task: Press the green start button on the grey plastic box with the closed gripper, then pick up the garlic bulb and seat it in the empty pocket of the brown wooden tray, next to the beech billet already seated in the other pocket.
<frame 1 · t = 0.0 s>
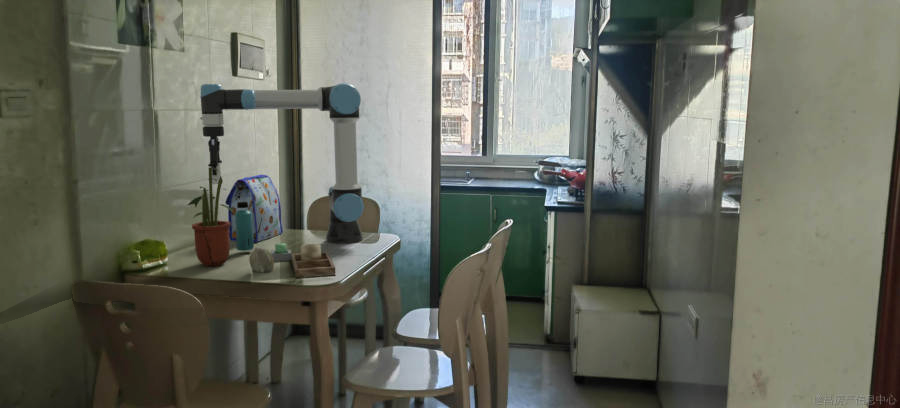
hand: (216, 182, 263), 28 cm above the table, fingers open, 13 cm apart
start button: (281, 249, 254), point 4 cm above the table, slide at 0.0 cm
lunch bag: (256, 238, 301), on the table
button box: (281, 261, 254), on the table
beverage bottle: (245, 253, 270), on the table
brown wooden tray: (312, 269, 242), on the table
beech billet: (311, 262, 247), point 1 cm above the table, touching brown wooden tray
potted plant: (215, 266, 248), on the table
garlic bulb: (262, 273, 237), on the table
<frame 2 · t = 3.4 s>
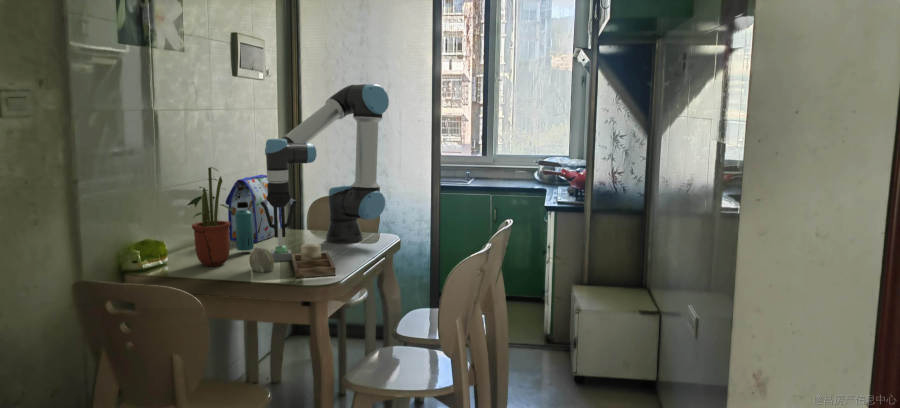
hand: (280, 246, 253), 6 cm above the table, fingers closed
start button: (281, 252, 254), point 3 cm above the table, slide at 0.8 cm, touching gripper
everything else where it was.
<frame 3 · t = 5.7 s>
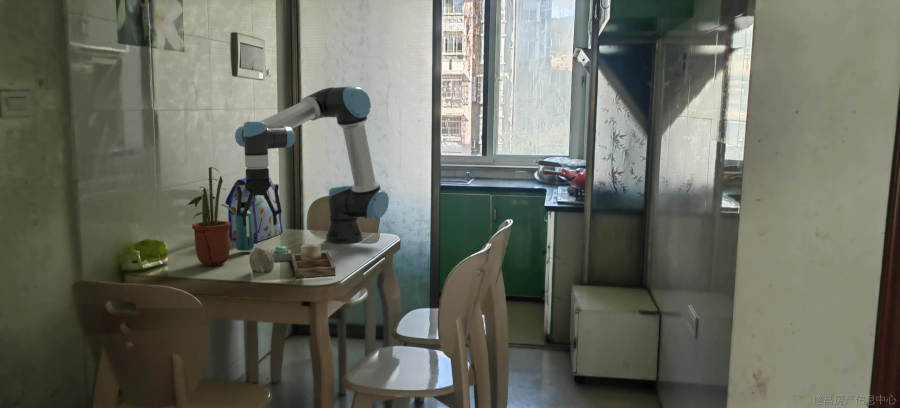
hand: (260, 234, 235), 13 cm above the table, fingers open, 7 cm apart
start button: (281, 252, 254), point 3 cm above the table, slide at 1.0 cm
everything else where it was.
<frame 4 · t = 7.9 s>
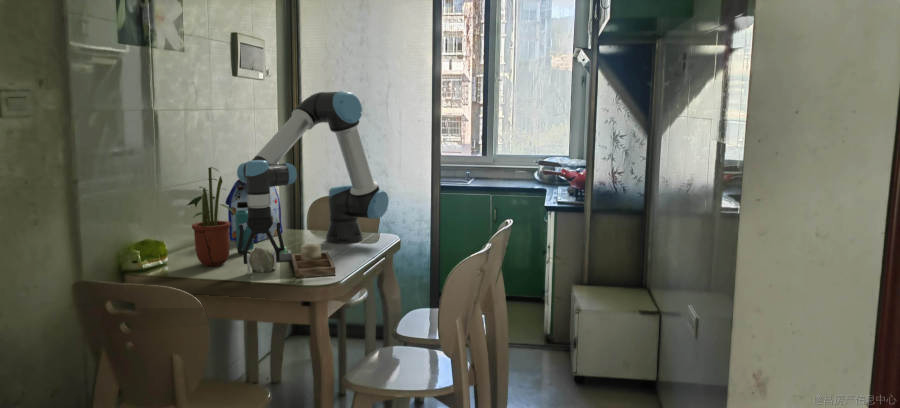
hand: (262, 272, 237), 0 cm above the table, fingers closed on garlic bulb, 8 cm apart
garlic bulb: (262, 273, 237), on the table, touching gripper
everything else where it was.
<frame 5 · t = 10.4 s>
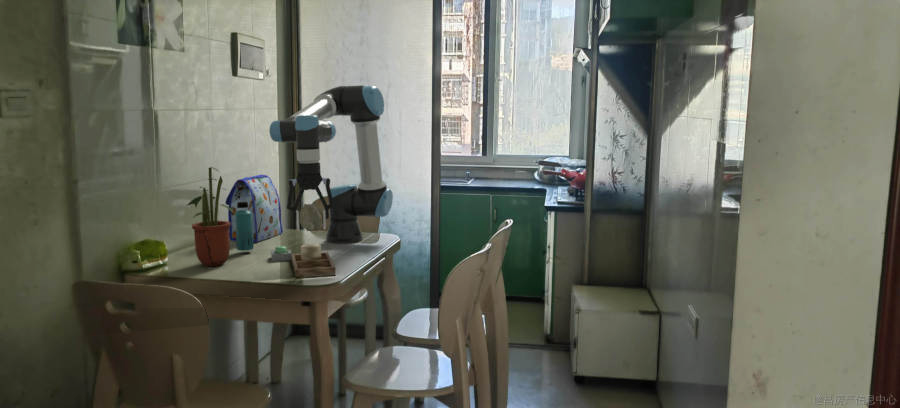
hand: (311, 229, 234), 15 cm above the table, fingers closed on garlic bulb, 8 cm apart
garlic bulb: (311, 230, 234), point 15 cm above the table, touching gripper
everything else where it was.
when the fingers open (4 cm above the table, at t = 13.0 s): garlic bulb drops 2 cm, resting on brown wooden tray.
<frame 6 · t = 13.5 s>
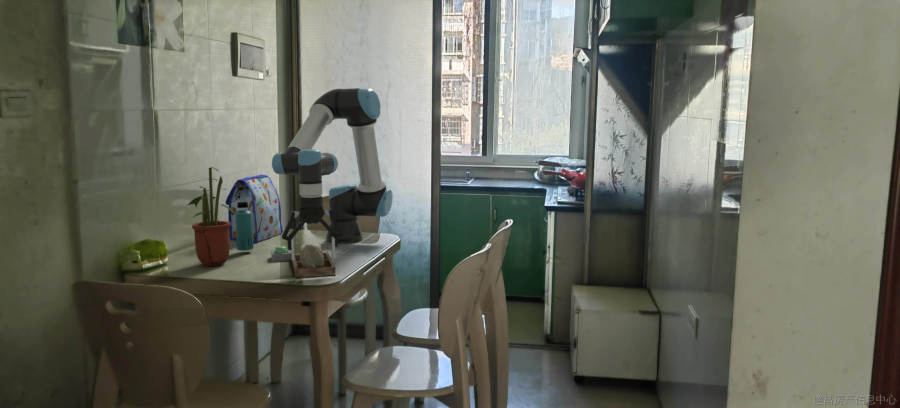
hand: (313, 258, 235), 5 cm above the table, fingers open, 13 cm apart
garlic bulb: (312, 270, 236), point 1 cm above the table, touching brown wooden tray
everything else where it was.
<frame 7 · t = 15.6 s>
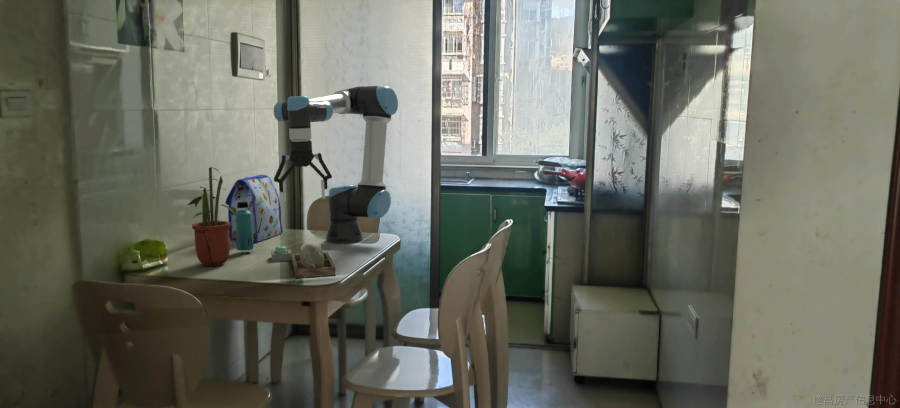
hand: (304, 199, 248), 23 cm above the table, fingers open, 13 cm apart
nothing on the table moved.
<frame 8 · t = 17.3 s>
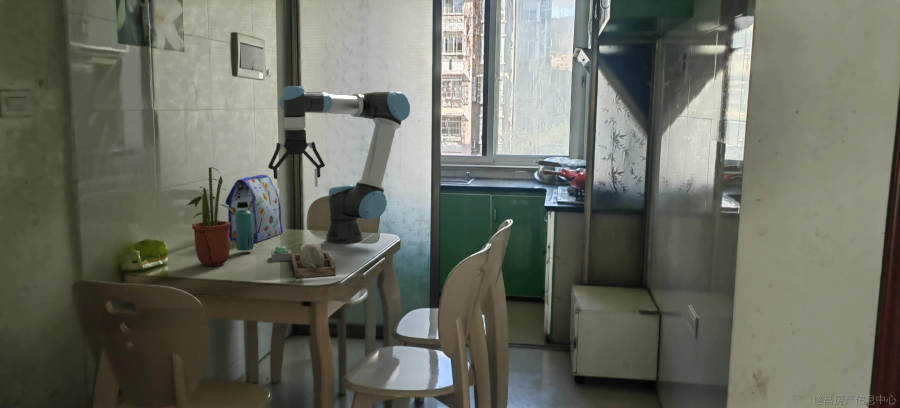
hand: (297, 187, 255), 27 cm above the table, fingers open, 13 cm apart
nothing on the table moved.
at the end: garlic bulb inside the target area on the brown wooden tray (0.5 cm from its centre), point 0.8 cm above the brown wooden tray's base; start button slide at 1.0 cm; the gripper is holding nothing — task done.
